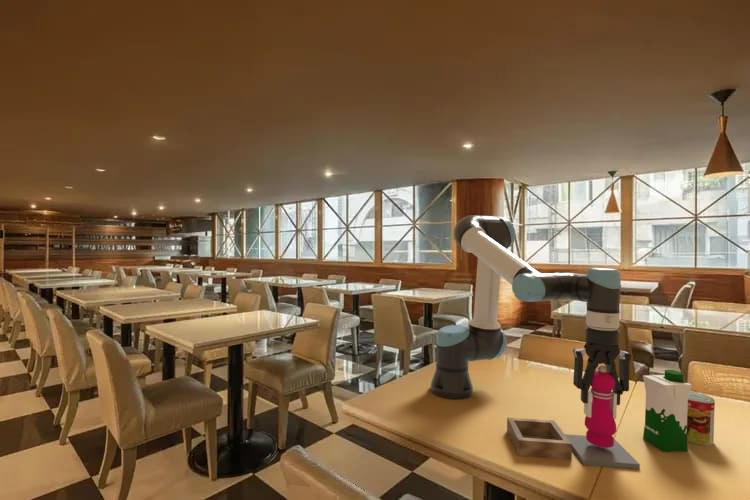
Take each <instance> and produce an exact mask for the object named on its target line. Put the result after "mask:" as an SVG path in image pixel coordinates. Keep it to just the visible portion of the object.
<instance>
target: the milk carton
mask: <svg viewBox="0 0 750 500" xmlns="http://www.w3.org/2000/svg"><path fill="white" fill-rule="evenodd" d="M642 378H643V383H644V389H645V407H644V409H645V411H644V412H645V413H644V414H645V415H644V416H645V417H644V429H643V436H642V439H643V440H644V441H646V442H648V443H649V444H650V445H652V446H654V447H655V448H657V449H658V450H659V451H661V452H662V453H663V452H665V453H666V452H667V453H668V452H688V450H689V448H688V441H687V409H688V398H689V394H690V392H692V387H693V385H692V383H688V382H687V381H686V380H684V373H683V372H682V371H679V370H673V369H665V370H664V374H650V375H642Z"/></svg>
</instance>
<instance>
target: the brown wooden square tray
mask: <svg viewBox="0 0 750 500" xmlns="http://www.w3.org/2000/svg"><path fill="white" fill-rule="evenodd" d="M506 432H507V434H508V436H509V438H510V441H511V443H512V444H513V447H514V450H515V452H516V454H517V455H518V456H520V457H531V458H546V459H547V458H548V459H556V460H558V459H559V460H561V459H562V460H571V459H573V458H572V457H573V453H572V452H573V450H572V443H571V442H570V441H569V439H568V438H567V437H566V435H565V433H564V431H563V430H562V429H561V427H560V426H559V425H558V424H557V422H556V421H555V420H552V419H551V420H550V419H537V418H536V419H535V418H534V419H533V418H524V417H523V418H521V417H520V418H519V417H508V416H507V418H506ZM523 435H524V436H536V437H537V436H538V437H549V438H550V439H548V438H546V439H545V438H534V437H533V438H532V437H524V436H523Z"/></svg>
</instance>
